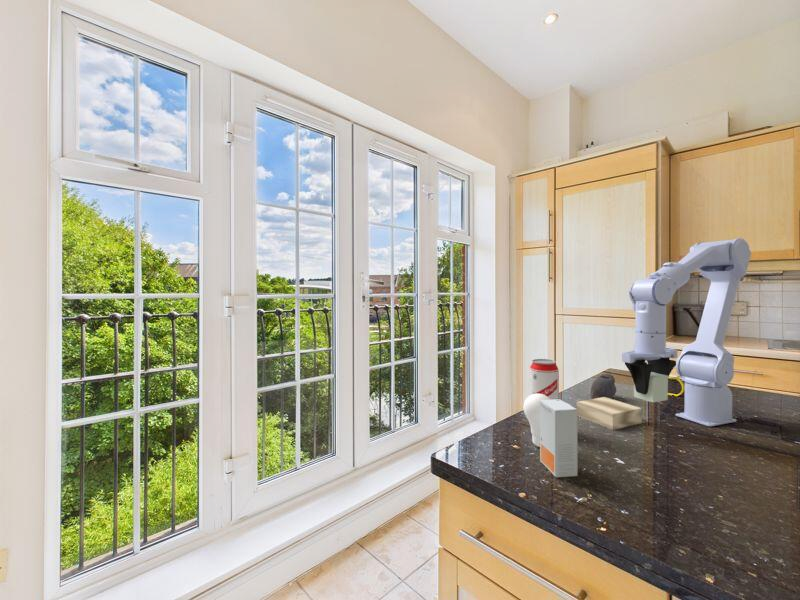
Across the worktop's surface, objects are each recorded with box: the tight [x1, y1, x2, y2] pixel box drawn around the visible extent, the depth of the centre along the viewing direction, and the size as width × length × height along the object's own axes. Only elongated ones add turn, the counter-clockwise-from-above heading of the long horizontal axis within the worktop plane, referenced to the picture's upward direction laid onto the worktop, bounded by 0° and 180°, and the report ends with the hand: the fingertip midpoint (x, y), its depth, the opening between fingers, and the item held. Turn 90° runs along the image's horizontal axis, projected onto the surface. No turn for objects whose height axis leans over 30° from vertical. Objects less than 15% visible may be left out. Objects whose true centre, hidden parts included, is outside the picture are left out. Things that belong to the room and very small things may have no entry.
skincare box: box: [539, 399, 579, 478], centre depth 67 cm, size 6×4×12 cm
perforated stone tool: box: [589, 373, 617, 399], centre depth 105 cm, size 15×5×7 cm, turn 136°
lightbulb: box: [522, 394, 551, 448], centre depth 76 cm, size 6×6×11 cm
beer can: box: [529, 358, 560, 400], centre depth 85 cm, size 6×6×16 cm
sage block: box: [633, 372, 669, 403], centre depth 83 cm, size 4×4×6 cm
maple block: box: [576, 397, 643, 431], centre depth 91 cm, size 10×10×4 cm
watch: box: [668, 374, 685, 397], centre depth 110 cm, size 6×3×6 cm, turn 41°
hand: (649, 391), depth 83 cm, fingers closed on sage block, 4 cm apart
